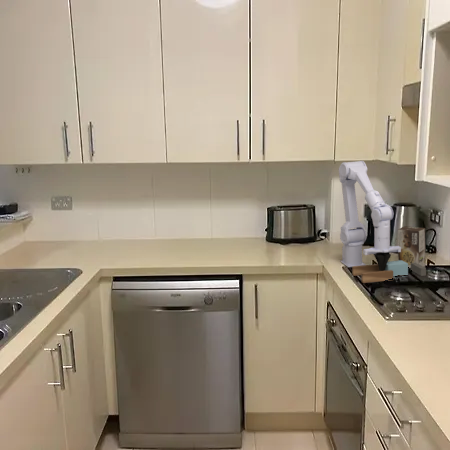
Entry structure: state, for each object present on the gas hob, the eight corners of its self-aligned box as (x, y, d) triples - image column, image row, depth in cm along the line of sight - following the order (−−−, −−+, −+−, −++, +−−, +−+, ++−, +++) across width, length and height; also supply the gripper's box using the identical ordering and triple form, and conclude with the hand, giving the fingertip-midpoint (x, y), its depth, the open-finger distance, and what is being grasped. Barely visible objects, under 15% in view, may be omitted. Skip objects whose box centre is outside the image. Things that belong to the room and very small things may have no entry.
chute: (352, 274, 190) (352, 266, 190) (380, 271, 192) (380, 263, 191) (363, 282, 180) (363, 274, 179) (393, 279, 181) (393, 271, 181)
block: (382, 274, 189) (382, 262, 188) (401, 272, 190) (401, 260, 189) (388, 277, 184) (388, 265, 183) (407, 275, 185) (408, 263, 184)
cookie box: (425, 266, 196) (426, 227, 193) (418, 269, 191) (419, 230, 188) (404, 262, 202) (404, 225, 199) (397, 266, 198) (397, 228, 195)
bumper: (410, 270, 192) (410, 263, 191) (415, 269, 192) (415, 262, 191) (421, 275, 184) (421, 268, 183) (425, 275, 184) (426, 268, 183)
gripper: (368, 241, 178) (368, 275, 181) (405, 237, 180) (404, 272, 183) (360, 237, 185) (361, 270, 188) (396, 234, 187) (395, 267, 190)
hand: (381, 270), depth 186 cm, fingers closed
